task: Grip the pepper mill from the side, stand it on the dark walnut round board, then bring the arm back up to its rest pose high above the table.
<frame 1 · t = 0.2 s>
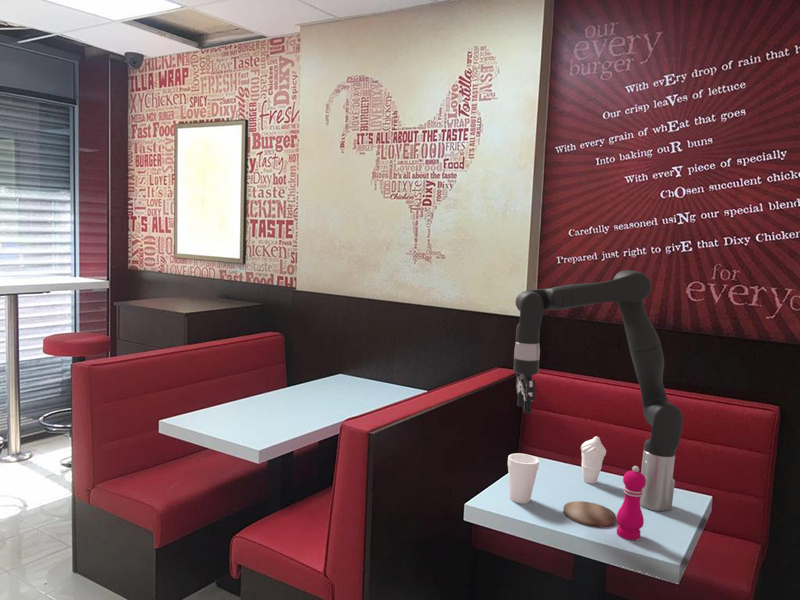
hand: (524, 409, 205), 28 cm above the table, tool pointing down, fingers open, 8 cm apart
walnut board: (589, 515, 200), on the table
soft serve ice cream cone: (589, 482, 228), on the table
pepper mill: (628, 535, 188), on the table
foam cup: (519, 499, 208), on the table
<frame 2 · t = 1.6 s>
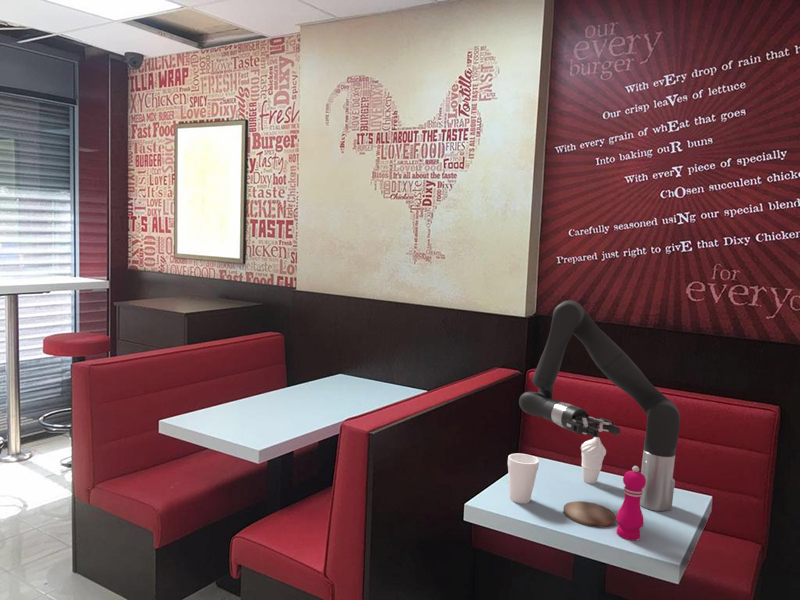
hand: (608, 432, 195), 26 cm above the table, tool horizontal, fingers open, 8 cm apart
nothing on the table moved.
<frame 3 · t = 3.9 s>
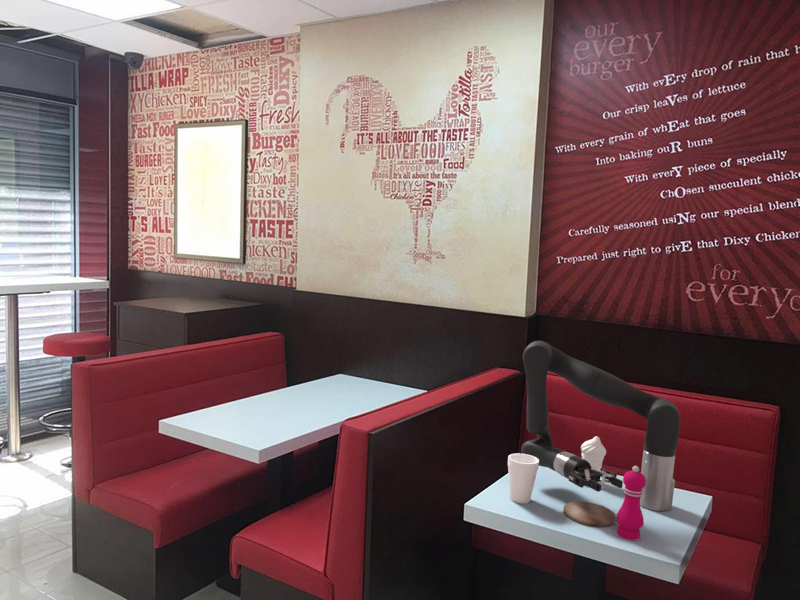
hand: (611, 486, 194), 11 cm above the table, tool horizontal, fingers open, 8 cm apart
nothing on the table moved.
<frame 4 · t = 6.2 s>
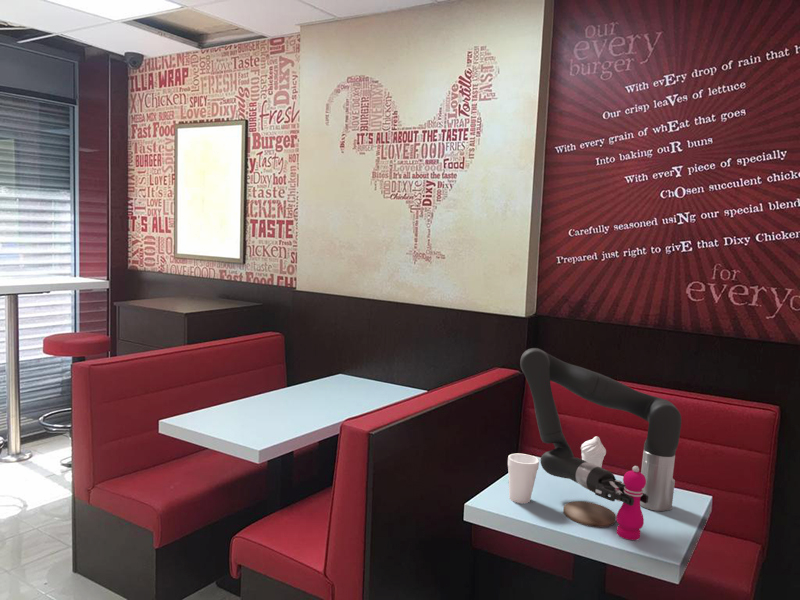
hand: (639, 500, 185), 11 cm above the table, tool horizontal, fingers closed on pepper mill, 5 cm apart
pepper mill: (628, 535, 188), on the table, touching gripper
everything else where it was.
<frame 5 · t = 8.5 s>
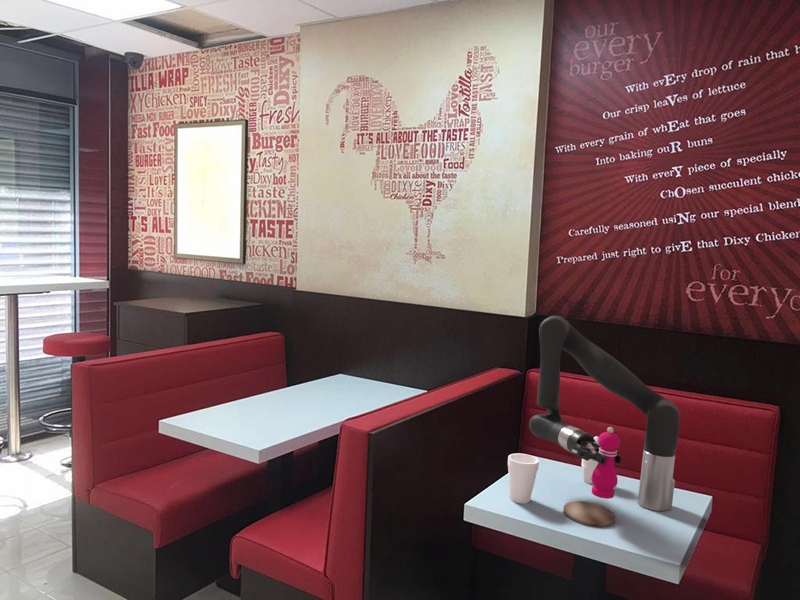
hand: (613, 460, 191), 19 cm above the table, tool horizontal, fingers closed on pepper mill, 5 cm apart
pepper mill: (602, 495, 194), point 8 cm above the table, touching gripper
everything else where it was.
when the fingers open (13 cm above the table, at t = 10.8 s): pepper mill drops 1 cm, resting on walnut board.
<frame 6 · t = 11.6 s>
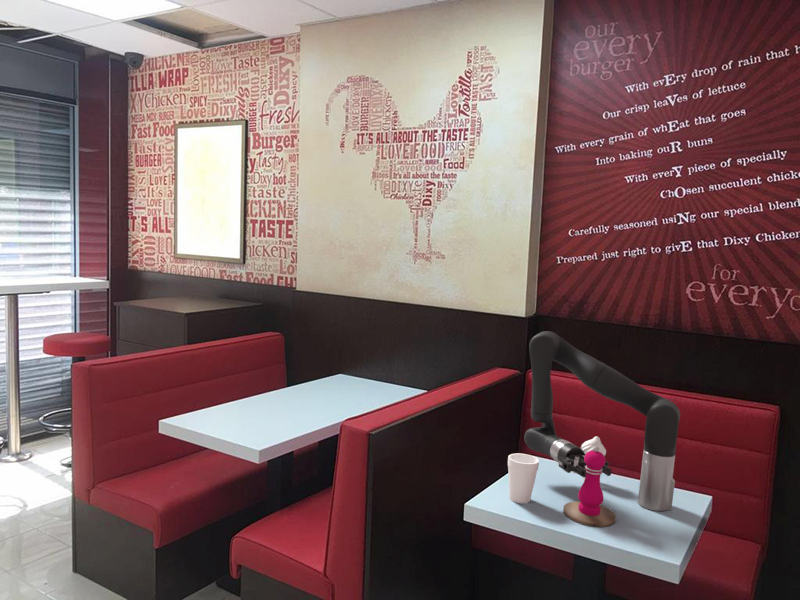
hand: (597, 473, 196), 14 cm above the table, tool horizontal, fingers open, 8 cm apart
pepper mill: (589, 512, 200), point 1 cm above the table, touching walnut board
everything else where it was.
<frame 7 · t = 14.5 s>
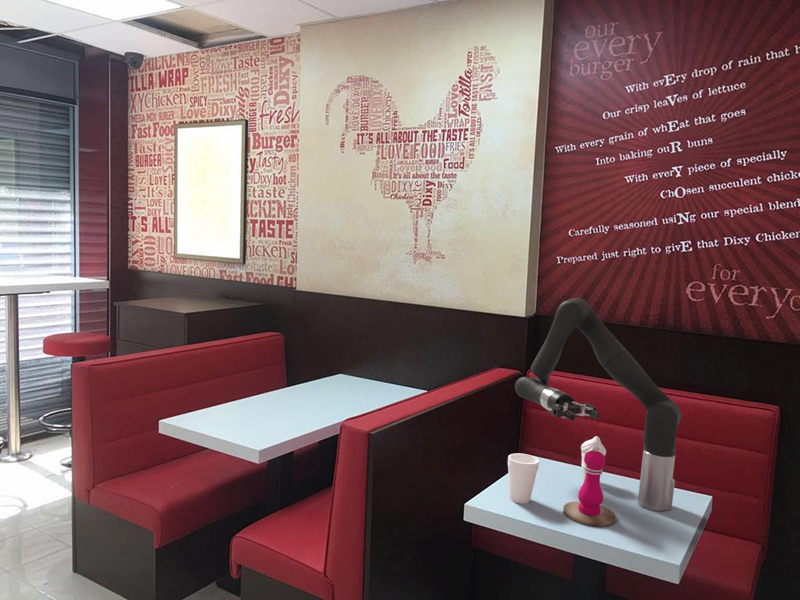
hand: (586, 417, 203), 28 cm above the table, tool horizontal, fingers open, 8 cm apart
nothing on the table moved.
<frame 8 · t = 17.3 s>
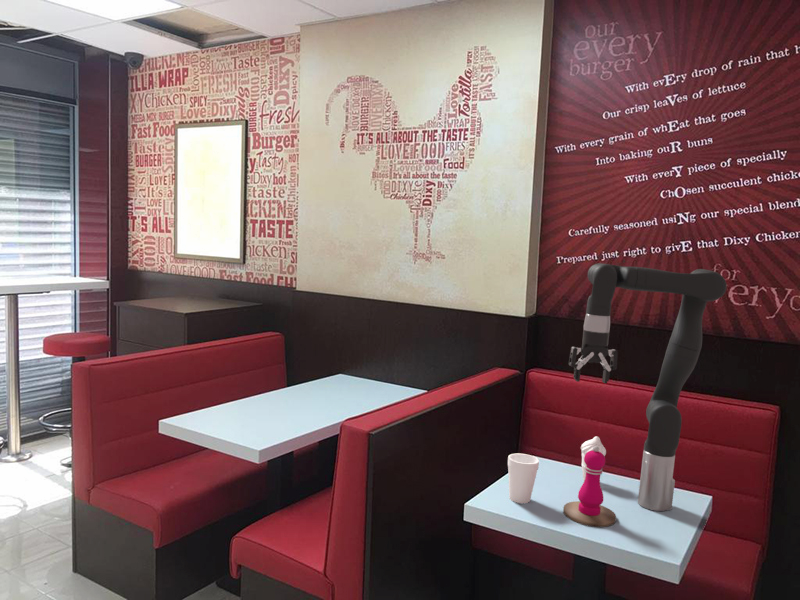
hand: (590, 381, 205), 38 cm above the table, tool pointing down, fingers open, 8 cm apart
nothing on the table moved.
at the end: pepper mill inside the target area on the walnut board (0.2 cm from its centre), point 1.0 cm above the walnut board's base; pepper mill tilted 0°; the gripper is holding nothing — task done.
